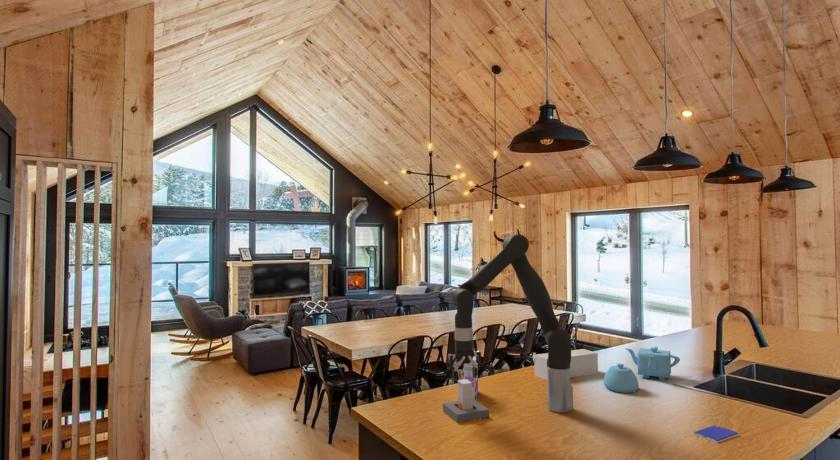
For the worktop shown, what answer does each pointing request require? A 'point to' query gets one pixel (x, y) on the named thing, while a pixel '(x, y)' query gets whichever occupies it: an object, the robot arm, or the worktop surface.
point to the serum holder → (465, 411)
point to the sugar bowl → (621, 379)
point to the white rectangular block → (579, 365)
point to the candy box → (471, 378)
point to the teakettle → (654, 362)
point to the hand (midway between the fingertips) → (465, 378)
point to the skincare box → (465, 395)
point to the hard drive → (716, 433)
